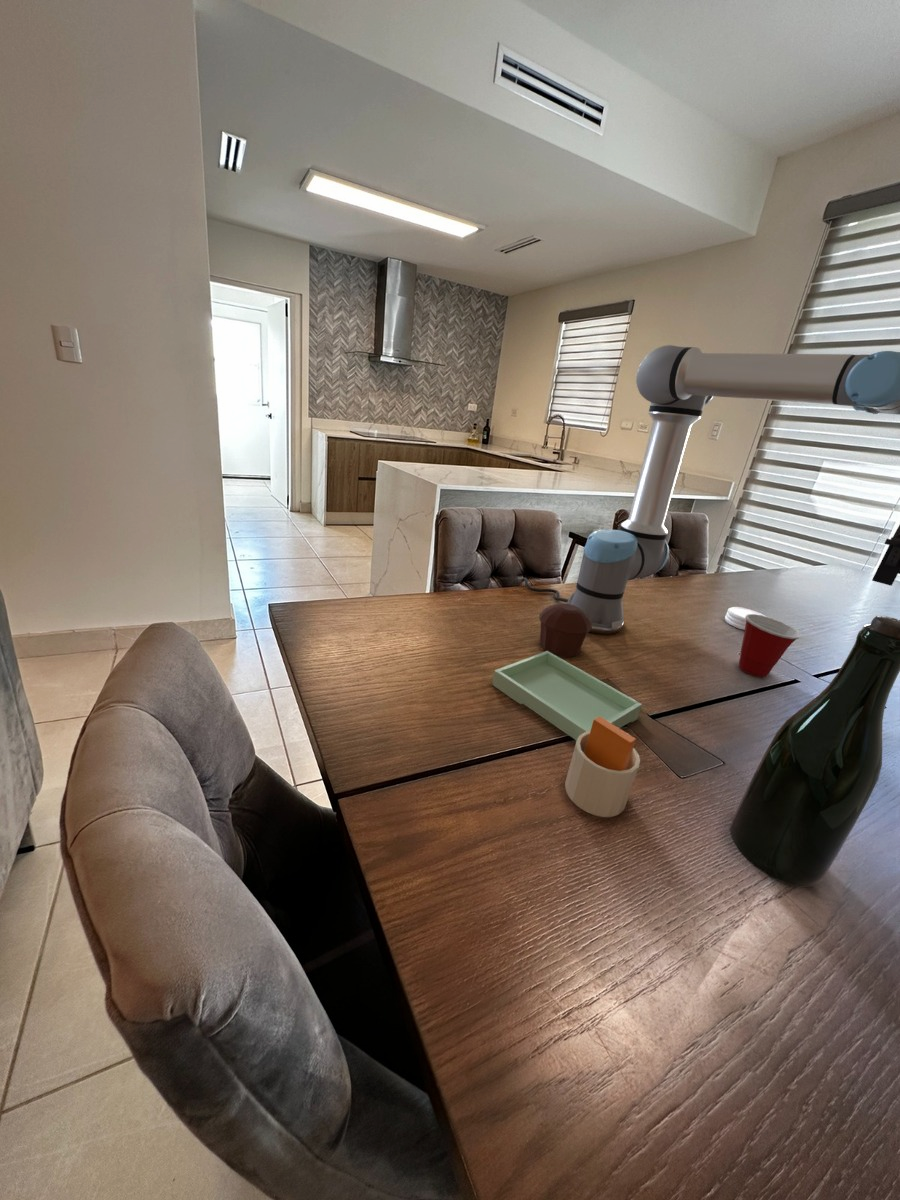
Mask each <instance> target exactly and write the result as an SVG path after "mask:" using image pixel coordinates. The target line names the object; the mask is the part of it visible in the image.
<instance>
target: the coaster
mask: <svg viewBox="0 0 900 1200" xmlns="http://www.w3.org/2000/svg"><path fill="white" fill-rule="evenodd" d="M747 614H757V615H762V616H765V615H764V614H762V613H760V612H758V611H756V610H753V609H750V608H746V607H740V606H731V607H729V608H728V609H727V612H726V614H725V616H724V621H725V622H726V623H727V624H729V625H731V626H732V627H734V628H737V629H739V630H742V631H745V626H746V625H745V624H746V618H745V617H746V615H747Z"/></svg>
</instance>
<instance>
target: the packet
mask: <svg viewBox="0 0 900 1200" xmlns="http://www.w3.org/2000/svg"><path fill="white" fill-rule="evenodd" d="M636 741H637V738H635V737H634V736H632V735H630V734H629V733H627V732H626V731H625V730H623V729H621V728H618V727H616V726H615V725H613V724H611V723H610V722H608V721H607V720H605V719H603V718H602V717H600V716H599V717H597V718H595V719H594V720H593V724H592V728H591V731H590V735H589V738H588V742H587V745H586V749H585V752H584V754H585V755H586V757H587V758H588V759H590V760H591V761H593V762H594V763H595V764H597V765H599V766H602V767H604V768H607V769H610V770H617V771H623V770H626V768H627V765H628V762H629V759H630V756H631V753H632V750H633V748H634V747H635V744H636Z"/></svg>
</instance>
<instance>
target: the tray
mask: <svg viewBox="0 0 900 1200" xmlns="http://www.w3.org/2000/svg"><path fill="white" fill-rule="evenodd" d="M492 678H493V679H492V681H491V682H492V683H491V686H493V687H495V688H496V689H497V690H499V691H500V692H502V693H503V694H505V695H506V696H508V698H510V699H511V700H513V701H515V702H516V703H518V704H519V705H524V706H526V707H527V708H529V709H530V710H531V711H533V712H534V713H536V714H537V715H539V716H540V717H542V718H543V719H545V720H546V721H547V722H549V723H550V724H552V725H553V726H555V727H557V728H558V729H559V730H560V731H562V732H563V733H565V734H566V735H568V736H569V737H570V738H571V739H574V740H575V742H576V741H577V739H578V737H579V735H581V734H583V733H585V732H588V731H591V728H592V724H593V720H594V719H595V718H597V717H599V716H600V717H602V718H603V719H605V720H607V721H608V722H610V723H611V724H613V725H615V726H616V727H618V728H619V729H621V728H623V727H625V726H626V725H628V724H629V723H634V722H636V721H637V720H638V718H639V716H640V713H641V709H642V707H643V703H641V702H640V701H637V700H635V699H634V698H633V697H630V696H628V695H627V694H625V693H623V692H621V691H620V690H618V689H616V688H614V687H612V686H610V685H609V684H608V683H605V682H604V681H602V680H601V679H598V678H597V677H595V676H593V675H592V674H590V673H588V672H586V671H584V670H583V669H581V668H579V667H577V666H575V665H573V664H571V663H570V662H568V661H566V660H564V659H563V658H561V657H560V656H557V655H554V654H552V653H550V652H549V651H545V650H544V651H543V652H540V653H537V654H534V655H532V656H529V657H527V658H523V659H521V660H519V661H516V662H514V663H511V664H508V665H505V666H502V667H499V668H497V669H495V670H494V672H493V677H492Z"/></svg>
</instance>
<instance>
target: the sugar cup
mask: <svg viewBox="0 0 900 1200" xmlns="http://www.w3.org/2000/svg"><path fill="white" fill-rule="evenodd" d="M589 735H590V731H588V732H585V733H583V734H581V735H579V737H578V739H577V741H576V740H575V745H574V748H573V753H572V756H571V760H570V763H569V767H568V771H567V774H566V778H565V781H564V786H565V791H566V794H567V796H568V798H569V799H570V800H571V802H572V803H573V804H574V805H576V806H577V808H579V809H581V810H582V811H584V812H586V813H588V814H591V815H593V816H596V817H601V818H612V817H616V816H619V815H620V814H621V813H622V812H623V811H625V809H626V806H627V803H628V800H629V797H630V794H631V791H632V789H633V785H634V783H635V780H636V776H637V774H638V772H639V767H640V763H641V757H640V755H639V753H638V751H637V750H636V749H635V748H634V747H633V750H632V753H631V756H630V759H629V762H628V765H627V768H626V770H623V771H617V770H610V769H607V768H604V767H602V766H599V765H597V764H595V763H594V762H593V761H591V760H590V759H588V758H587V757H586V755H585V754H584V752H585V749H586V745H587V742H588V738H589Z"/></svg>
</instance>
